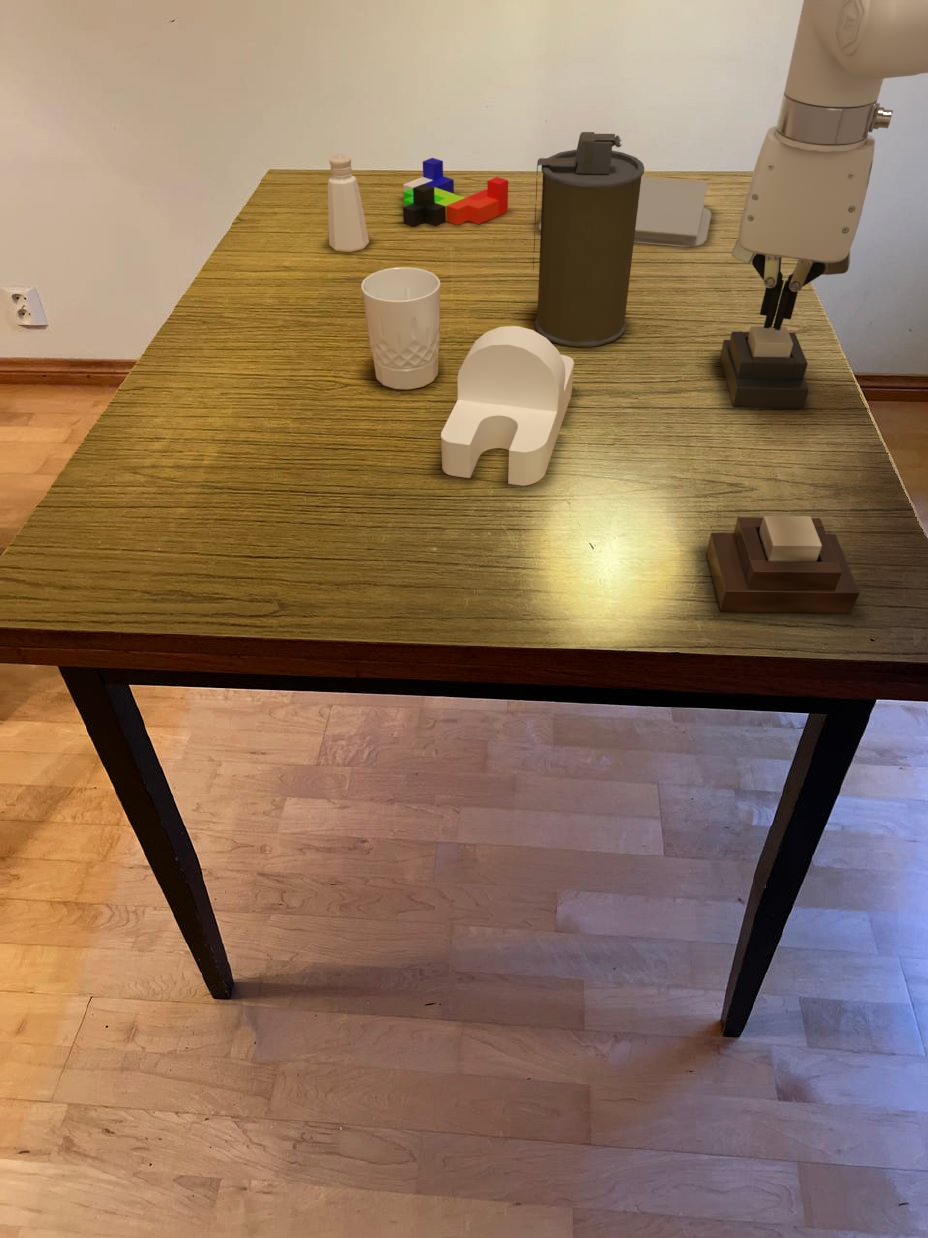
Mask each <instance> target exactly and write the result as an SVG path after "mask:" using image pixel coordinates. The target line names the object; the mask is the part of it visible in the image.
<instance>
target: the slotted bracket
mask: <svg viewBox="0 0 928 1238" xmlns="http://www.w3.org/2000/svg"><path fill="white" fill-rule="evenodd" d="M574 366H575V361H574V359H573V358H572V357H570V356H568V355H565V354H560V352H559V350H558V349H557V348H556V347H555V345H554V344H552V341H549V340H548V339H547V338H545V337H544V336H542V335H541V334H539V332H538V331H535V330H534V329H530V328H526V327H523V326H519V325H507V326H498V327H496V328H493V329H491V330H488V331H486V332H484V333H483V335H482V334H481V336H480V337H479V338H477V339H476V340H475V341H474V343H473V345H472V346H471V348H470V350H469V351H468V353H467V355H466V357H465V358H464V360H463V362H462V364H461V365H460V367H459V370H458V372H457V383H456V385H457V401H456V403H455V404H454V407H453V409H452V411H451V412H450V415H449V416H448V418H447V420H446V422H445V424H444V426H443V428H442V430H441V432H440V445H441V446H440V447H441V469H442V471H443V473H445V474H446V475H448V476H453V477H459V478H466V479H471V477H472V475H473V472H474V470H475V468H476V466H477V463H478V461H479V459H480V457H481V455H482V454H483V453H484V452H486V451H489V450H492V449H501V450H502V449H504V450H507V451H508V477H507V478H508V480H507V481H508V482H507V483H508V485H515V486H522V487H524V486H529V485H532V484H535V483H537V482H540V481H541V480H542V479H543V478H544V477H545V475H546V473H547V471H548V467H549V464H550V461H551V458H552V455H553V452H554V449H555V447H556V443H557V441H558V438H559V433H560V431H561V427H562V424H563V421H564V420H565V419H564V418H565V416H566V412H567V410H568V407H569V404H570V401H571V397H572V393H573V392H572V391H573V379H574V368H575V367H574Z"/></svg>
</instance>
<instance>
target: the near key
mask: <svg viewBox="0 0 928 1238" xmlns="http://www.w3.org/2000/svg"><path fill="white" fill-rule="evenodd" d="M762 517H763V520H762V523H761V527H760V531H759V535H760V538H761V541H762V544H763V547H764V551H765V554H766V557H767V560H768V561H792V562H817V559H818V556H819V553H820V550H821V547H822V544H821V542H820V539H819V537H818V534H817V532H816V529H815V527H814V524H813V521H812V519H811V518H812V516H810V515H763V516H762Z"/></svg>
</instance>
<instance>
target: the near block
mask: <svg viewBox="0 0 928 1238" xmlns="http://www.w3.org/2000/svg"><path fill="white" fill-rule="evenodd" d="M811 519H812V521H813V524H814V527H815V529H816V532H817V534H818V537H819V539H820V542H821V544H822V547H821V550H820V553H819V556H818V559H817V562H792V561H768V560H767V557H766V554H765V551H764V547H763V544H762V541H761V538H760V535H759V531H760V527H761V523H762V520H763V516H761V517H760V516H758V517H756V516H755V517H754V516H753V517H750V516H743V517H742V516H738V517H737V519H736V521H735V526H734V530H733V532H710V535H709V539H708V544H707V548H706V557H707V561H708V566H709V570H710V573H711V578H712V582H713V586H714V591H715V595H716V599H717V602H718V607H719V611H720V612H726V613H727V612H733V613H734V612H735V613H737V612H739V613H741V612H742V613H743V612H744V613H799V614H800V613H801V614H802V613H805V614H806V613H808V614H811V613H812V614H852V613H853V610H854V607H855V605H856V603H857V600H858V599H859V596H860V589H859V588H858V586H857V583H856V581H855V578H854V576H853V573H852V571H851V569H850V566H849V564H848V561H847V559H846V556H845V554H844V552H843V549H842V547H841V544H840V542H839V539H838V537H837V535H836V533H827V532H826V529H825V527H824V523H823V521H822V519H821V517H811Z"/></svg>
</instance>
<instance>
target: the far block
mask: <svg viewBox="0 0 928 1238" xmlns="http://www.w3.org/2000/svg"><path fill="white" fill-rule="evenodd" d="M749 332H750V331H731V334H730V338H729V339H723V341H722V345H721V346H722V347H721V351H720V356H719V359H720V363H721V366H722V370H723V374H724V377H725V381H726V385H727V388H728V393H729V396H730V400H731V404H732V406H733V407H737V408H739V407H740V408H775V409H777V408H778V409H779V408H780V409H781V408H783V409H785V408H787V409H804V408H805V404H806V401H807V398H808V394H809V391H810V388H809V385H808V383H807V380H806V378H805V374H806V371H807V368H808V361H807V358H806V356H805V354H804V351H803V348H802V346H801V344H800V342H799V339H798V337H797V334H796V332H789V335H790V337H791V340H792V342H793V346H792V350H791V354H790V357H752V355H751V352H750V349H749V345H748V342H747V341H748V337H749Z"/></svg>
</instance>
